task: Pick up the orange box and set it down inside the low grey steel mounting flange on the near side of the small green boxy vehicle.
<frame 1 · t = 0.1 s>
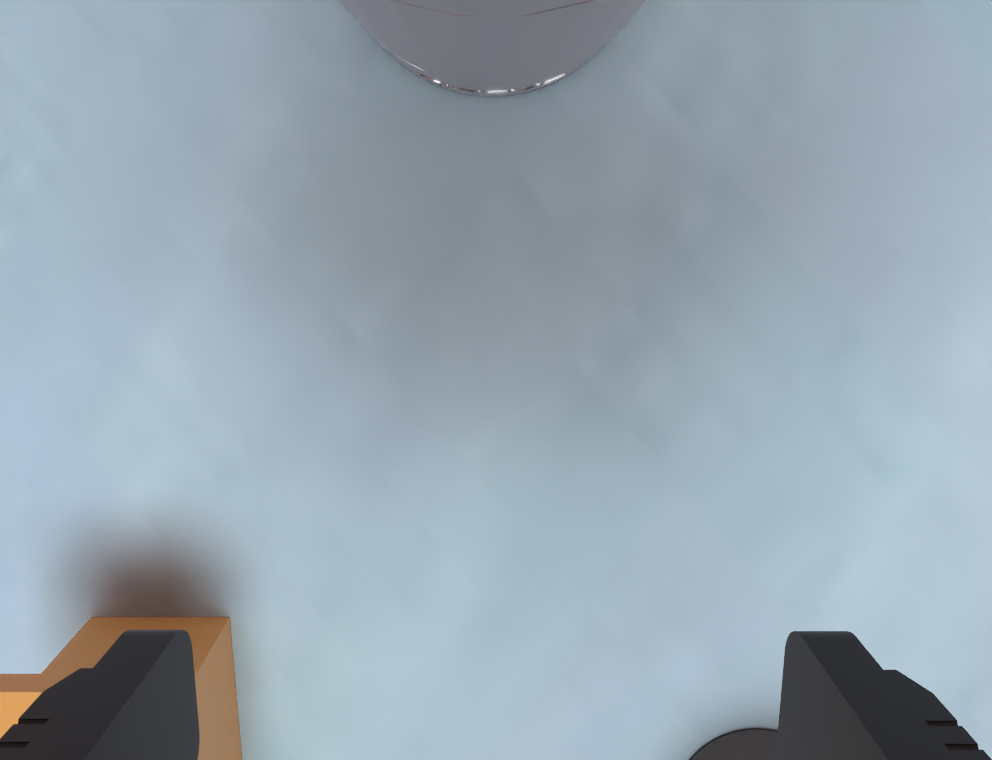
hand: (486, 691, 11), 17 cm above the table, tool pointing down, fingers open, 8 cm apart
orange box: (170, 700, 31), on the table
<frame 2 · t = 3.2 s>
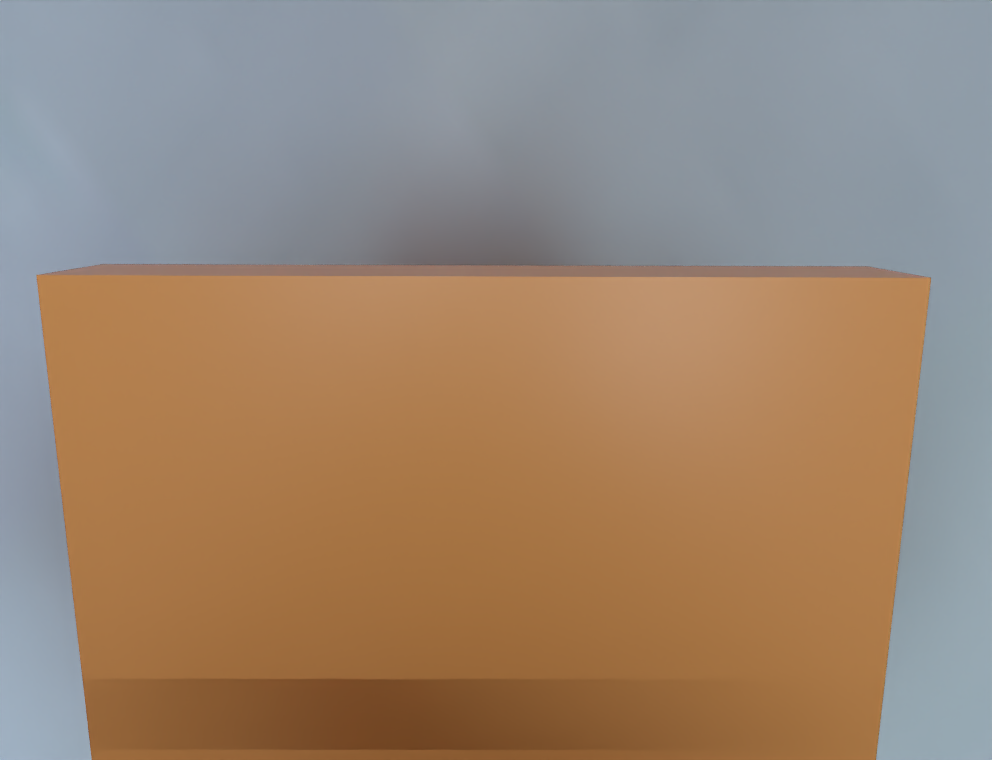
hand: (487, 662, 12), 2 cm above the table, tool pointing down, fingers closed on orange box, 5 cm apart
orange box: (489, 596, 14), on the table, touching gripper
when the fingers open (4 cm above the table, at t = 7.3 s): orange box drops 1 cm, resting on green boxy vehicle.
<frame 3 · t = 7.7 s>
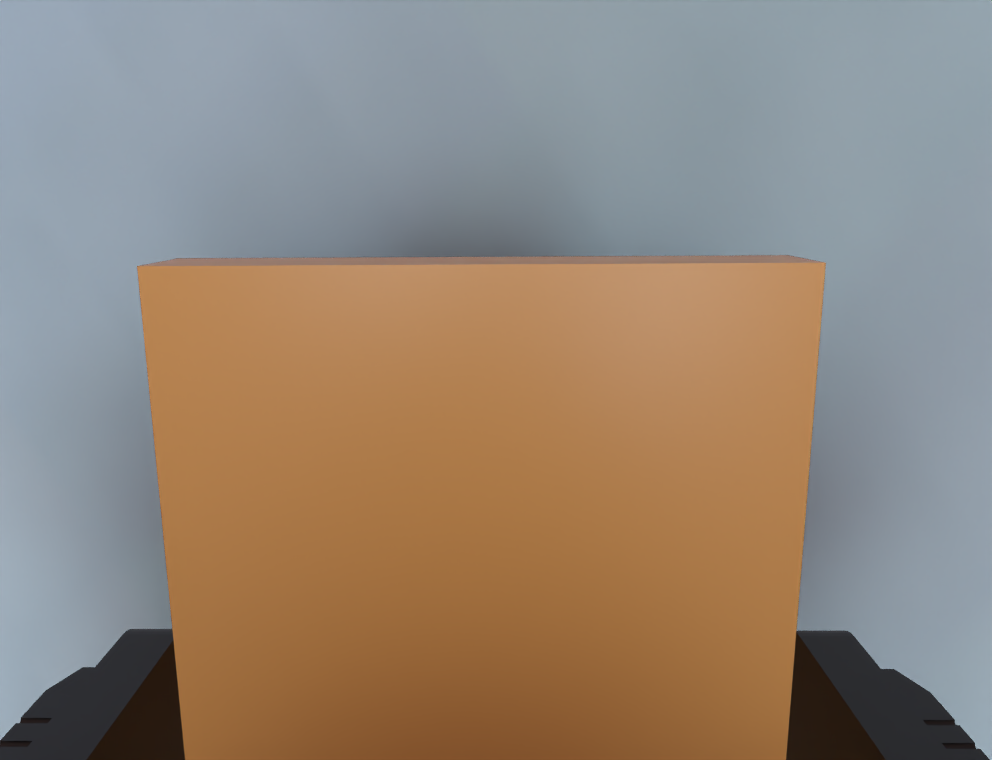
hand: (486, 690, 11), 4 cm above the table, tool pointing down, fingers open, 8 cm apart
orange box: (490, 561, 15), resting on green boxy vehicle
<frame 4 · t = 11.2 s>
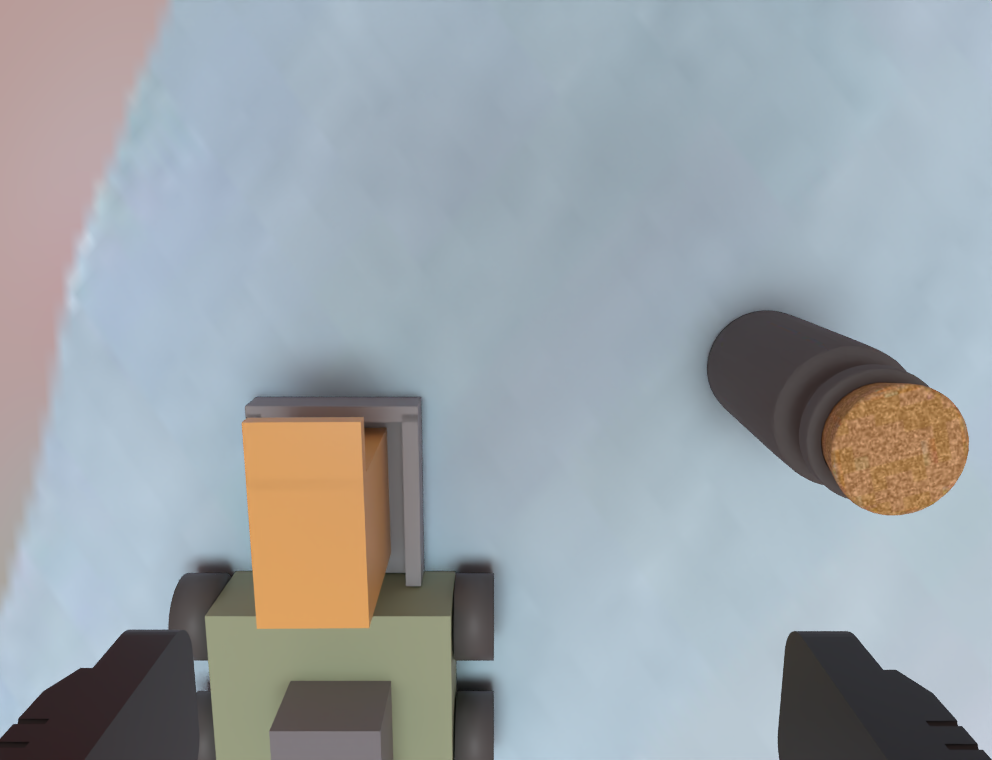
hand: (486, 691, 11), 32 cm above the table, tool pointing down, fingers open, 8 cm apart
green boxy vehicle: (348, 645, 46), on the table
bottle: (761, 364, 43), on the table
orange box: (341, 491, 44), resting on green boxy vehicle
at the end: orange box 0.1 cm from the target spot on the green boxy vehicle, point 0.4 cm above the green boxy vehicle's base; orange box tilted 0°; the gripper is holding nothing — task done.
